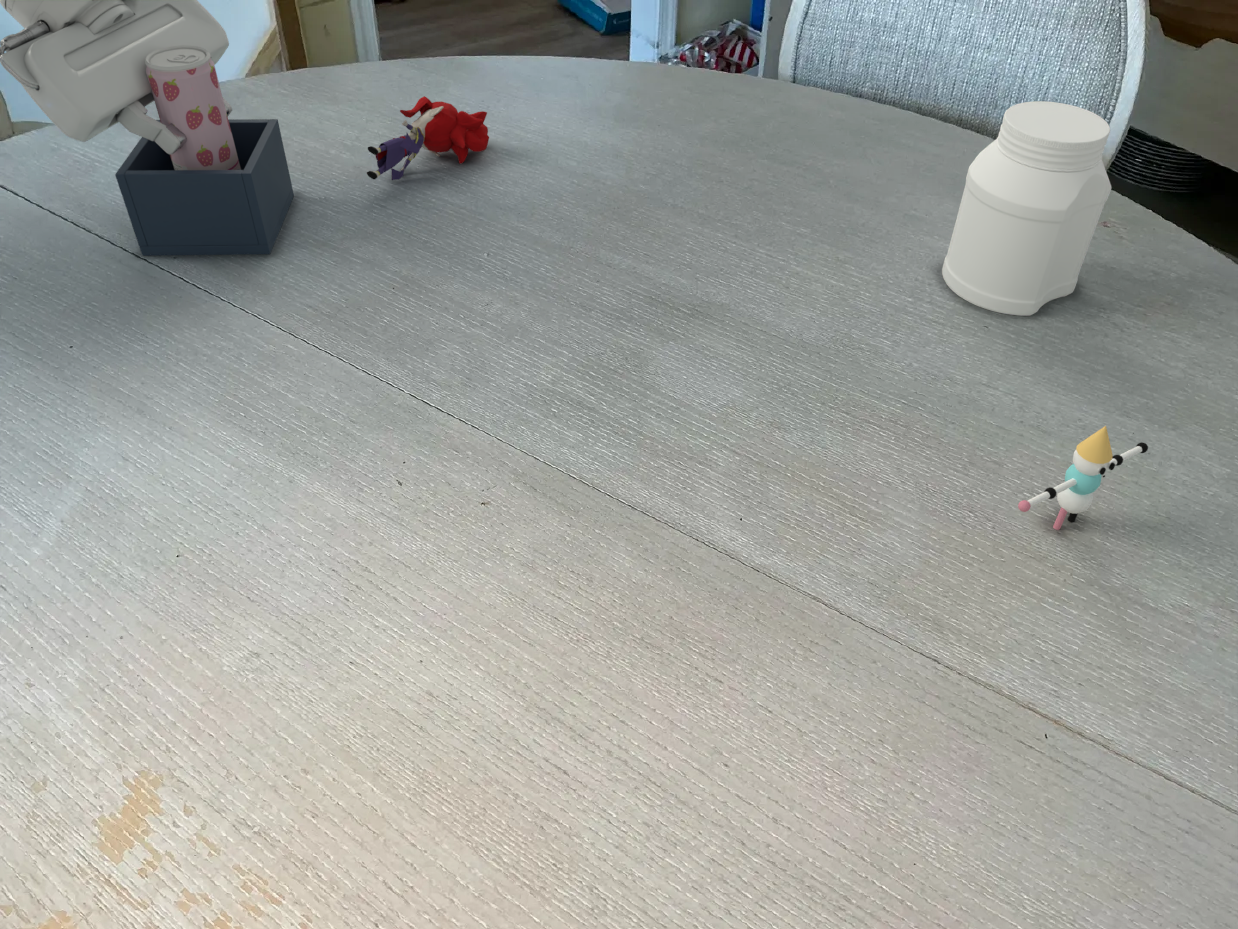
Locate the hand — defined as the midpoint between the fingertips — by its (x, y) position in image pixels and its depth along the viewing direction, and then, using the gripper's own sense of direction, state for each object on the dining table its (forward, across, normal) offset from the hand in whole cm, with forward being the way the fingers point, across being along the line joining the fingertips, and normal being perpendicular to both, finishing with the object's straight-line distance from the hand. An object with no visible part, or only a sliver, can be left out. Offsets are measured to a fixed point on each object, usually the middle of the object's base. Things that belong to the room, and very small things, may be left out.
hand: (203, 131), depth 91 cm
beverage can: (+6, 0, +6) cm, 9 cm away
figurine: (+16, +18, -2) cm, 24 cm away
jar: (+58, +14, -44) cm, 74 cm away
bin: (+6, 0, +7) cm, 9 cm away
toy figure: (+61, -17, -48) cm, 79 cm away
